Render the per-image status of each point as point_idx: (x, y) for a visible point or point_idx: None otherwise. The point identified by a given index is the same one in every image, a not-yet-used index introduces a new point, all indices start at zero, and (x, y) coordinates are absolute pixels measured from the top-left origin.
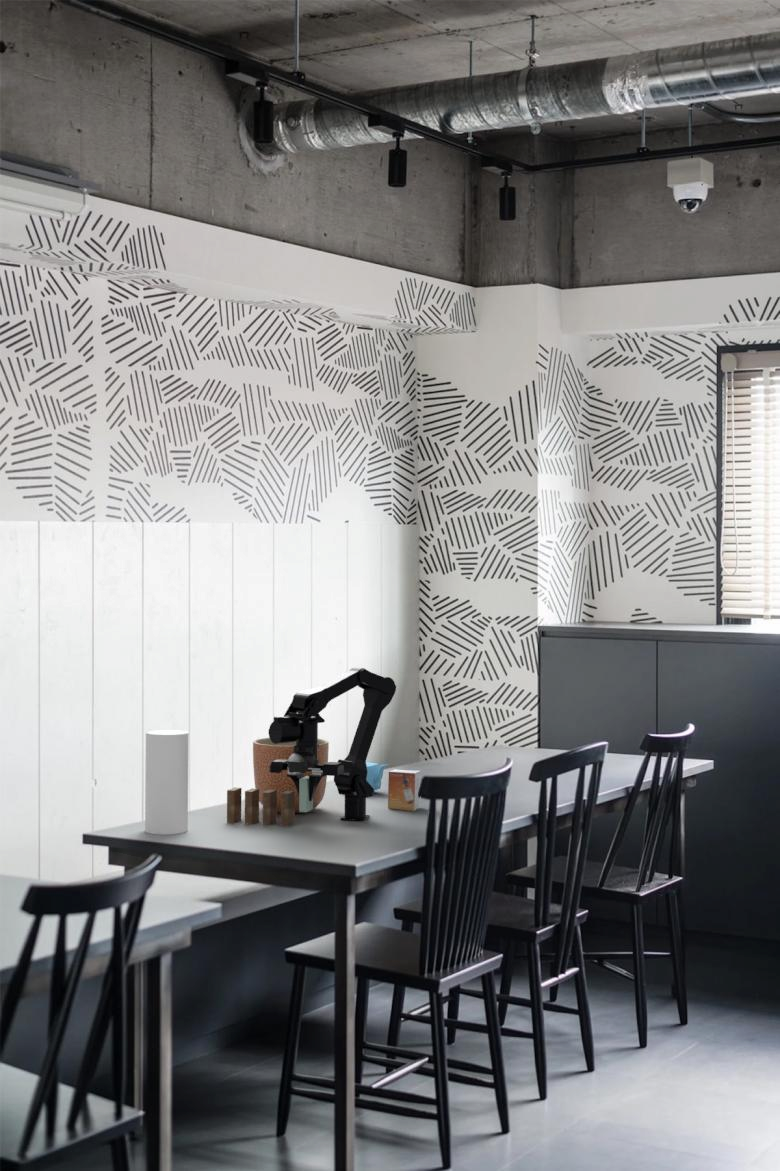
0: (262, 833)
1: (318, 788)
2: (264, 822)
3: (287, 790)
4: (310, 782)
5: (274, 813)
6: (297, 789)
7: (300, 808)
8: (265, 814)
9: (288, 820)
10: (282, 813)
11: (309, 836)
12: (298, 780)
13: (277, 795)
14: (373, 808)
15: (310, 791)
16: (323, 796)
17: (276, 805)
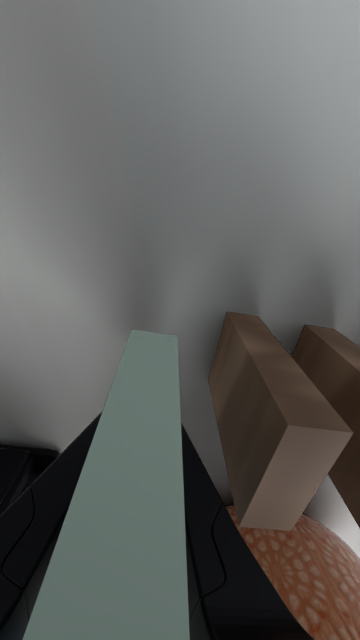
0: (353, 93)
1: None
2: (333, 333)
3: (277, 590)
4: (11, 590)
5: None
6: (211, 489)
7: (169, 344)
8: (353, 350)
9: (230, 329)
10: (271, 342)
11: (56, 19)
12: (213, 628)
13: (310, 559)
14: None
15: (74, 466)
16: None
17: None
